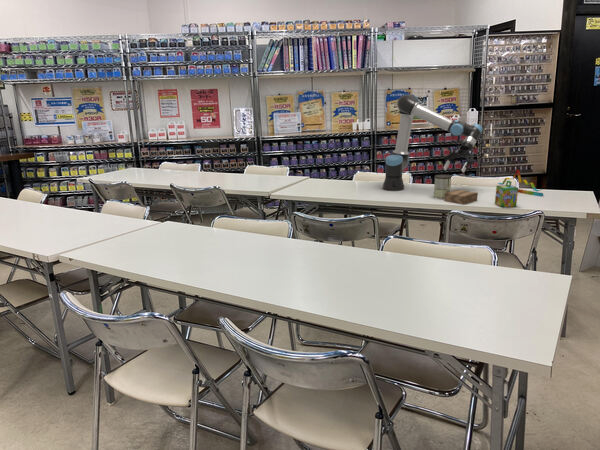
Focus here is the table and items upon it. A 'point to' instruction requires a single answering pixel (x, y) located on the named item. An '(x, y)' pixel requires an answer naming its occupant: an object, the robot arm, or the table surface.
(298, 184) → the table surface
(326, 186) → the table surface
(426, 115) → the robot arm
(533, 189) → the chart
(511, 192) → the colourful patterned gift box
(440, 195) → the coffee can
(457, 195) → the walnut block
